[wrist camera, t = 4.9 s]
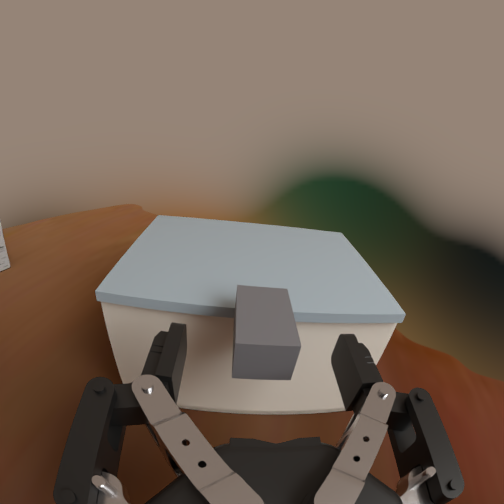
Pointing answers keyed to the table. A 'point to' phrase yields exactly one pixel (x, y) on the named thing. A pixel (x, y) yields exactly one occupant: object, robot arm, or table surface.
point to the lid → (250, 284)
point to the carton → (220, 361)
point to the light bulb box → (3, 252)
